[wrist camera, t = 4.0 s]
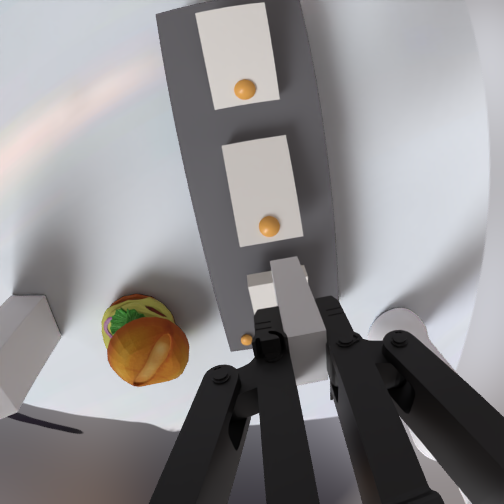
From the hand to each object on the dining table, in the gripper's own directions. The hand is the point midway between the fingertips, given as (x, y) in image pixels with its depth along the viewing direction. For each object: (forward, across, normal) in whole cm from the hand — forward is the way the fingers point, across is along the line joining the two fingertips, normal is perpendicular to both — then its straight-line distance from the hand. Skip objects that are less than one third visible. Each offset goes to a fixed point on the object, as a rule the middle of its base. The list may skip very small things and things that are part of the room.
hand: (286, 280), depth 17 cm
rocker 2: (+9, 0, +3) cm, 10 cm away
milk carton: (+16, -34, -9) cm, 39 cm away
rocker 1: (+9, 0, +14) cm, 17 cm away
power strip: (+16, 0, +6) cm, 17 cm away
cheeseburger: (+16, -16, -12) cm, 26 cm away
